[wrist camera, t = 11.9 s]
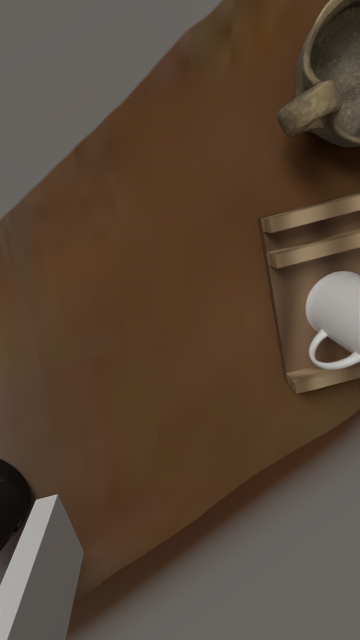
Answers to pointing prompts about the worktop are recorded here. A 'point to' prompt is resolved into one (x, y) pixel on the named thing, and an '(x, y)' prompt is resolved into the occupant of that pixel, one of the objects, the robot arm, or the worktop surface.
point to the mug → (336, 315)
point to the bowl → (328, 78)
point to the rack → (309, 282)
